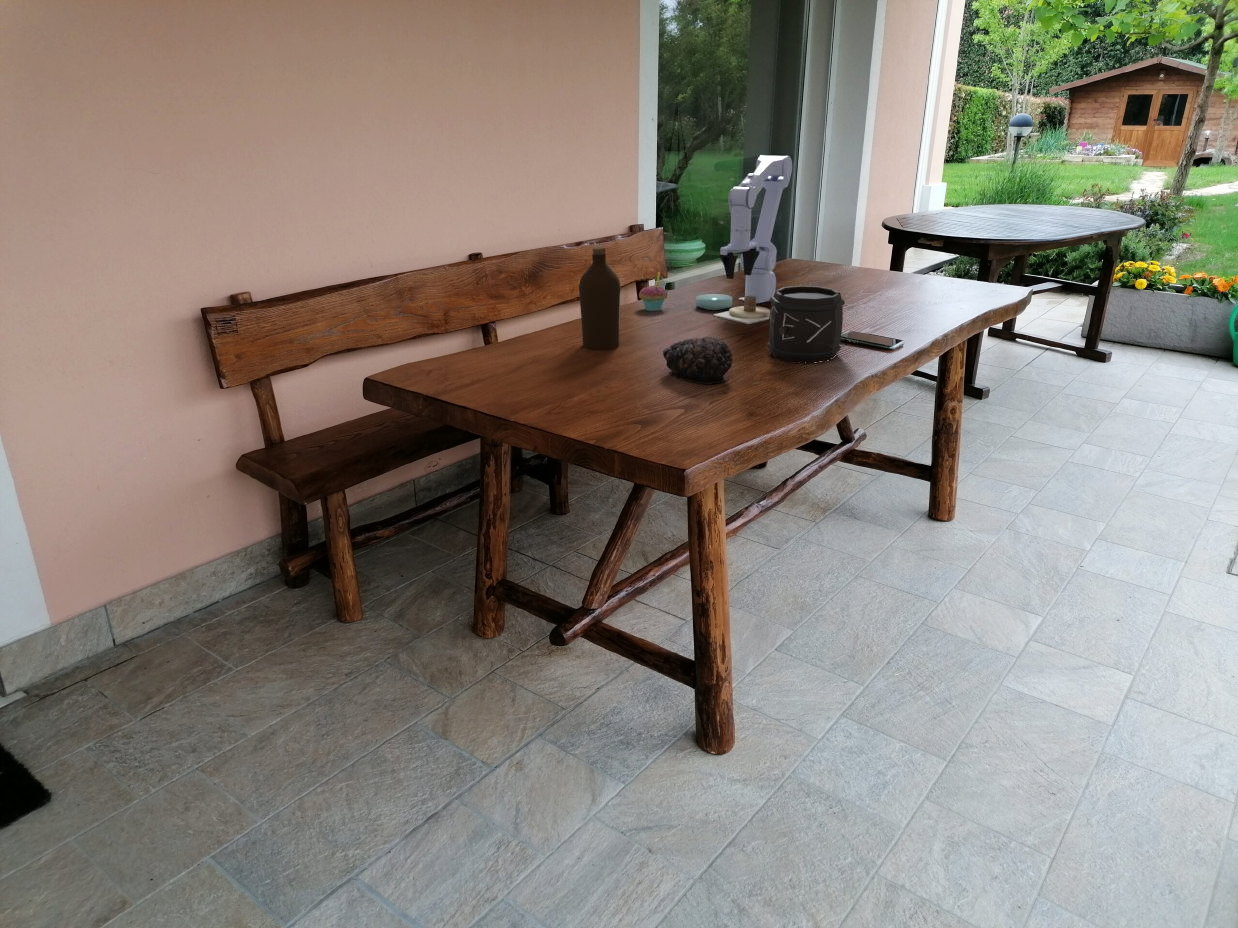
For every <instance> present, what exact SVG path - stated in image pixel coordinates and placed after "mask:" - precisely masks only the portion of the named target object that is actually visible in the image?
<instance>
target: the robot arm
mask: <svg viewBox="0 0 1238 928" xmlns="http://www.w3.org/2000/svg"><path fill="white" fill-rule="evenodd" d="M792 172H793V160H792V158H791V156H790V155H764V154H760V155H759V156H758V158H757V160H756V164H755V170H754V171H753V173H748V174H747V176H746V177H745V178H744V179H743V180H742V181H741V183H740V184H738V186H733V188H731V189H730V191H729V193H728V197H727V198H728V199H727V200H728V206H729V213H730V216H731V217H730V239H729V240H730V241H729V243H728V244H727V245H726V246H722V247H720V252H719V258H720V260H721V262H722V265H723V267H724V271H725V276H726V279H731V280H733V279H734V277H735V270H736V268H735V267H736V264H737V260H738V258H739V257H738V255H734V254H737V253H741V255H740V258H739V259H740V267H741V268H742V270H743V274H744V275H745V285H744V286H745V290H744V291H745V292H744V297H745V296H756V304H760V303H767V302H770V301H769V300H770V297H772V296H774V294H775V291H776V290H777V289H776V286H777V277H776V274H775V273H774V271H773V270H774V269H775V267H776V263H777V252H778V250H777V247H776V246H775V245H774V243H772V242H771V239H772V235H773V231H774V227H775V224H776V223H775V222H776V219H777V215H778V210H779V206H780V202H781V199H782V194H783V190H784V189H786V188H787V187H788V186H789V183H790V180H791V175H792ZM763 188H764V189H765V194H764V198H763V201H762V202H763V203H762V205H761V211H760V215H759V219H758V223H757V225H756V226H757V227H756V232H755V235H754V237H753V238H752V239H751V227H752V208H753V207H754V206H755V204H756V200H757V196H758V194H759V193H760V192H761V190H762V189H763ZM744 297H738V300H739V301H743V302H744Z"/></svg>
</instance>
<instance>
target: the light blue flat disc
mask: <svg viewBox="0 0 1238 928" xmlns="http://www.w3.org/2000/svg"><path fill="white" fill-rule="evenodd" d="M695 306H696V307H697V308H700V309H704V310H707V311H720V310H725V309H730V308H732V307H733V297H732V296H731V295H727V294H722V293H721V294H719V293H704V294H700V295H697V296H696V297H695Z"/></svg>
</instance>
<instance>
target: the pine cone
mask: <svg viewBox="0 0 1238 928" xmlns="http://www.w3.org/2000/svg"><path fill="white" fill-rule="evenodd" d="M662 356H663V358H664V359H665V360H666V367H667V368H668V369H669V372H668V374H669V375H670V376H671V377H673V378H674V379H679V380H681V381H687V382H691V383H692V382H693V383H696V384H702V385H711V384H719V383H723V382H725V381H728V378H727V377H725V375H726V374H727V373H728V372H729V371H730V369H731V368H732V366H733V365H732V363H733V352H732V351H731V349H730V347H729V345H728V344H727V343H726V342H725V341H722V340H721V339H720V338H718V337H712V336H704V337H693V338H687V339H685V340H683V341H676V342H674V343H672V345H670V346H669V347H666V348H664V349H663V351H662Z"/></svg>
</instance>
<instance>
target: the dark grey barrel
mask: <svg viewBox="0 0 1238 928" xmlns="http://www.w3.org/2000/svg"><path fill="white" fill-rule="evenodd" d="M841 294H842V293H841V292H839V291H838V290H836V289H834V288H829V287H825V286H818V285H817V286H816V285H794V286H793V285H792V286H785V287H784V286H783V287H780V288H778V289H776V290H775V294H774V296H772V297H770V300H769V301H768V302H769V303H770V304H771V305H770V315H769V319H768V342H767V343H766V345H767V348H768V349H769V350H770V353H771V355H772V354H773V355H772V356H773V358H774V359H776V358H777V359H776V360H779V359H780V361H783V360H784V361H783V362H786V361H787V363H790V362H796V363H795V364H798V363H797V362H800V363H799V364H804V363H805V362H806V363H814V362H819V361H827V360H830V359H831V358H833V357H834V356H835V355H836V356H837V353H838V352H840V351H841V349H842V347H841V345H840V343H841V337H842V334H843V333H842V331H843V320H844V317H843V316H844V312H843V306H844V305H845V299H843V298H842V295H841ZM833 359H834V358H833ZM830 361H831V360H830Z"/></svg>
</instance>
